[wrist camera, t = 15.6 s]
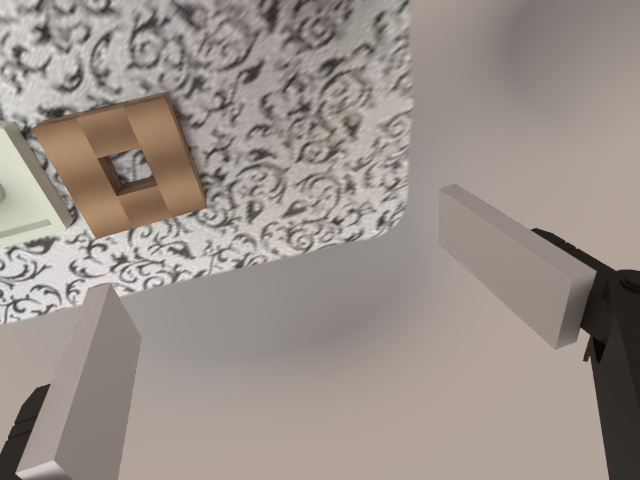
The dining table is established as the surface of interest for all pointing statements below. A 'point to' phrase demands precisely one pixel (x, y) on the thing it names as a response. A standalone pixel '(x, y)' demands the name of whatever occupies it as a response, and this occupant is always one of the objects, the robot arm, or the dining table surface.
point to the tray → (26, 193)
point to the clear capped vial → (2, 193)
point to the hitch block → (100, 176)
